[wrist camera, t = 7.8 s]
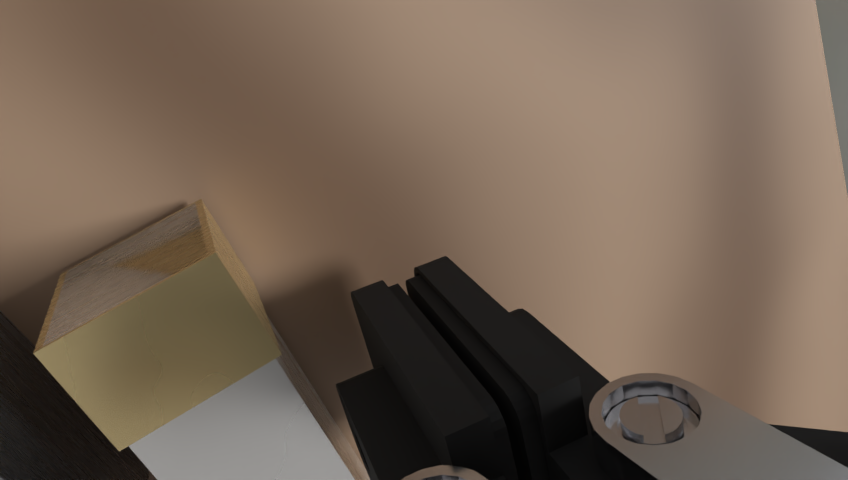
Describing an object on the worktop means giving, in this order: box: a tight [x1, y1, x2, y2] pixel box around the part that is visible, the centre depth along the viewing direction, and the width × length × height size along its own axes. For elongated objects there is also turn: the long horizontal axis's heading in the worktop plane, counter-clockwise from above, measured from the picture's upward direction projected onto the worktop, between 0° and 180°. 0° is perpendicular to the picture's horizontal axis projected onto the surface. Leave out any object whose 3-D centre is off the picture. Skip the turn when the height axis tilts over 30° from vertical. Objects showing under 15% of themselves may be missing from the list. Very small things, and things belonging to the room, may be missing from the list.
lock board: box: [0, 0, 848, 480], centre depth 14 cm, size 22×20×2 cm
